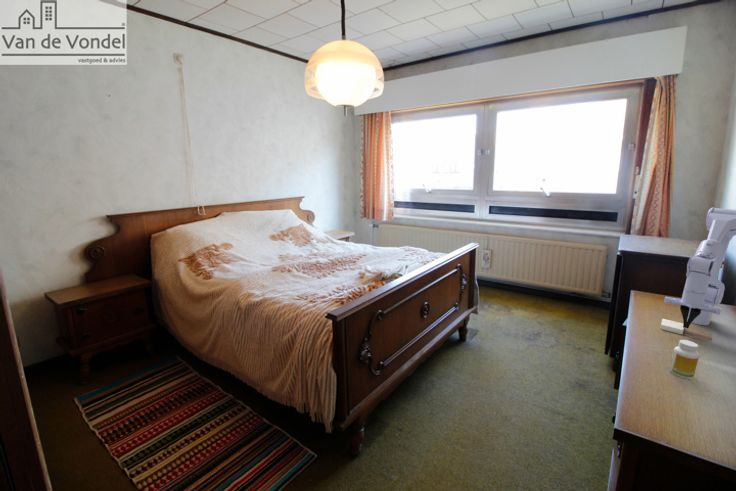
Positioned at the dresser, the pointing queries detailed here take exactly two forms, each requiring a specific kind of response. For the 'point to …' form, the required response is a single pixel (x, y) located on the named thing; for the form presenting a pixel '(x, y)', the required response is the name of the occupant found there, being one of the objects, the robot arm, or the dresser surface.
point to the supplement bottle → (684, 359)
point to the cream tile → (672, 326)
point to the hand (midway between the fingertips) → (685, 326)
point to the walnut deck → (698, 335)
